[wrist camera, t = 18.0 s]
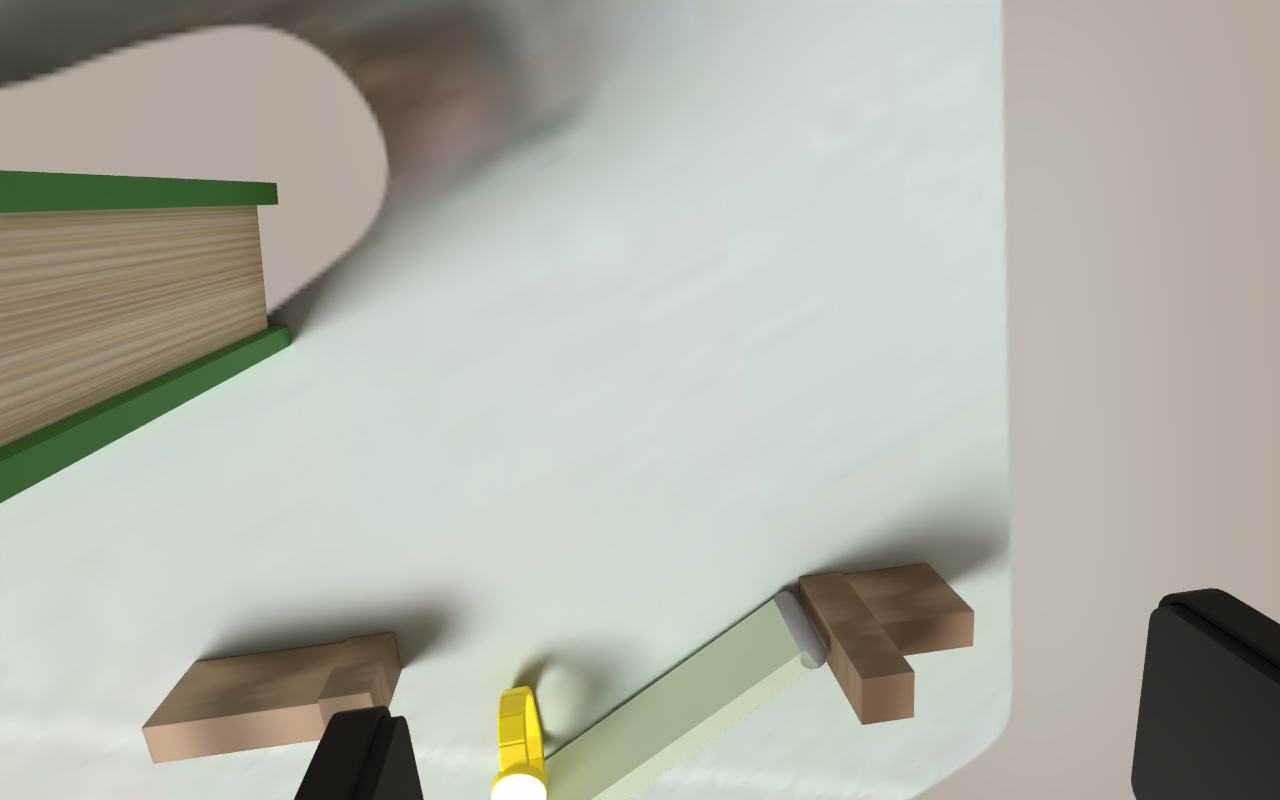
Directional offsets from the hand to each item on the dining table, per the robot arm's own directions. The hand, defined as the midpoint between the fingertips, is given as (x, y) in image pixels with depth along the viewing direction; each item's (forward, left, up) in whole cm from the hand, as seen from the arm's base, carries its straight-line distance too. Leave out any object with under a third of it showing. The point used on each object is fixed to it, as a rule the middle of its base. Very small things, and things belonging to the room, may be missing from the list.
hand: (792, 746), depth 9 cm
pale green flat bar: (+1, +22, -28) cm, 35 cm away
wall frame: (+4, +16, -28) cm, 33 cm away
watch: (+8, +21, -28) cm, 36 cm away
